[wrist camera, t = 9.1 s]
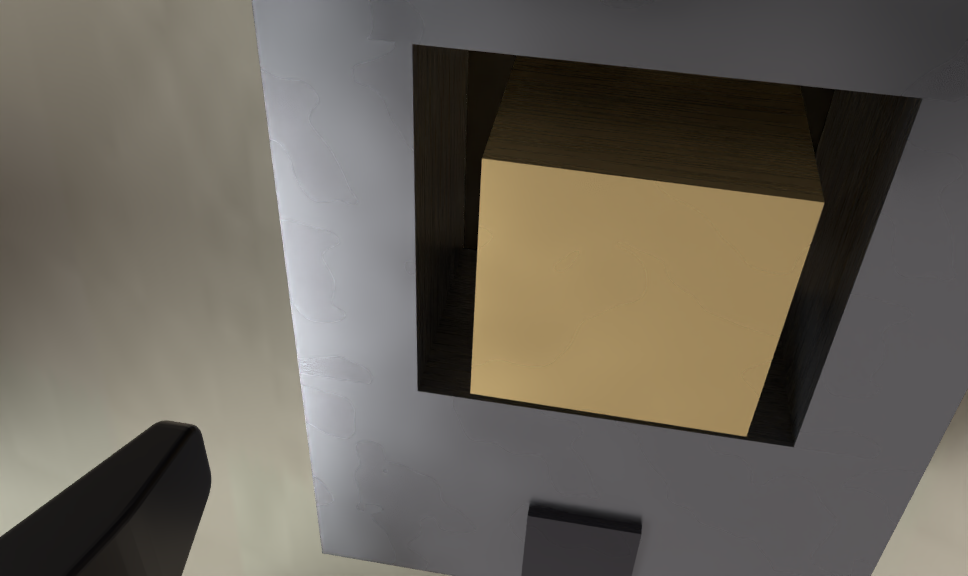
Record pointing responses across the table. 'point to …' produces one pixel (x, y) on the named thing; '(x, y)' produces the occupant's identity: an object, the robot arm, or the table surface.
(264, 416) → the table surface
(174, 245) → the table surface
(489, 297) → the tan wooden block
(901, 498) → the grey socket block
